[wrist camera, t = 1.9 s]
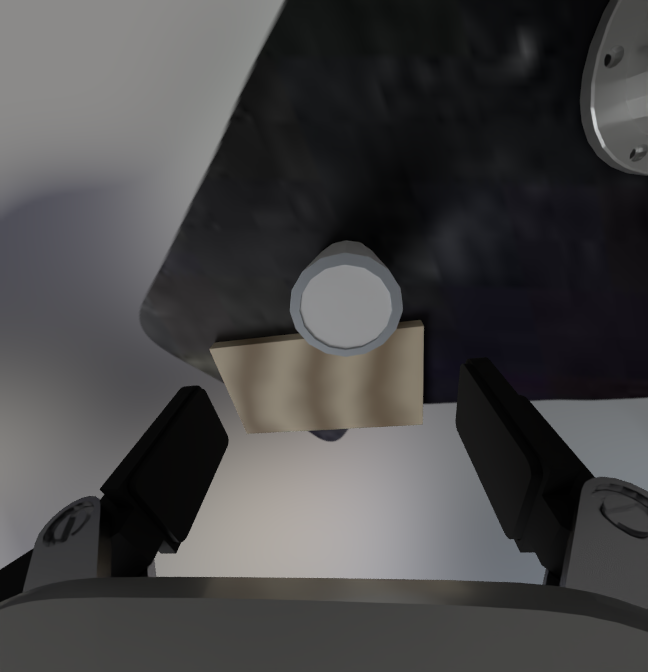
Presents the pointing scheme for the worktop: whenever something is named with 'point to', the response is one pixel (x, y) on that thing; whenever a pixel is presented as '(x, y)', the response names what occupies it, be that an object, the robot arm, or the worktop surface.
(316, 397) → the birch board
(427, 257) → the worktop surface
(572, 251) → the worktop surface
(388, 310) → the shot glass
